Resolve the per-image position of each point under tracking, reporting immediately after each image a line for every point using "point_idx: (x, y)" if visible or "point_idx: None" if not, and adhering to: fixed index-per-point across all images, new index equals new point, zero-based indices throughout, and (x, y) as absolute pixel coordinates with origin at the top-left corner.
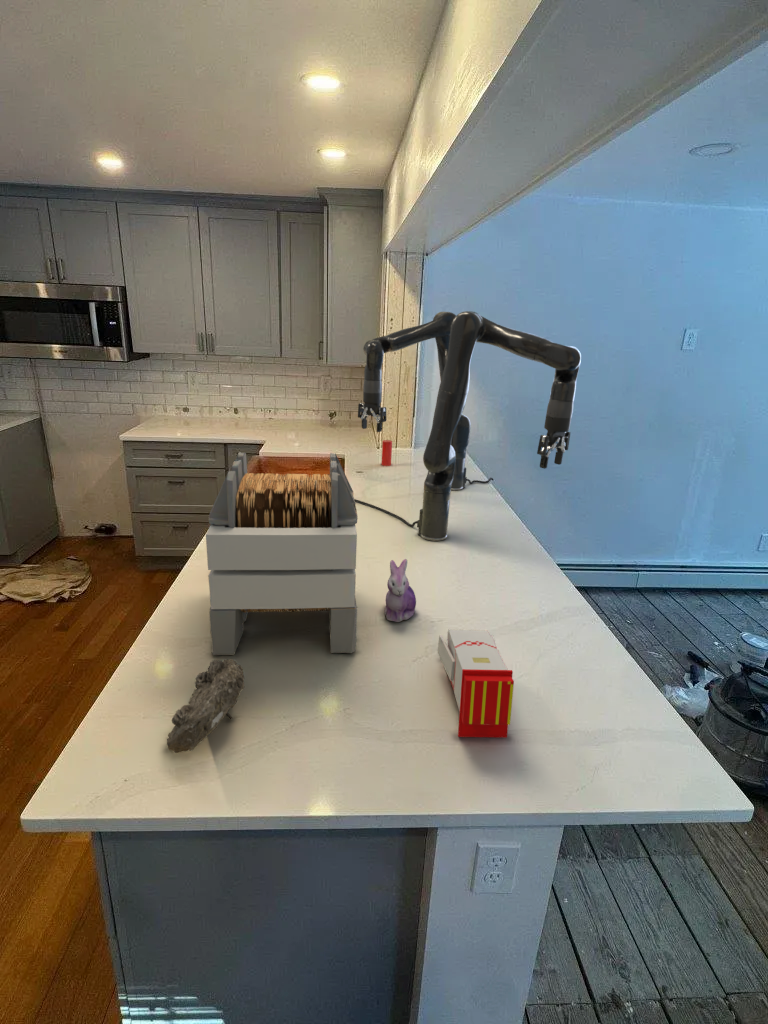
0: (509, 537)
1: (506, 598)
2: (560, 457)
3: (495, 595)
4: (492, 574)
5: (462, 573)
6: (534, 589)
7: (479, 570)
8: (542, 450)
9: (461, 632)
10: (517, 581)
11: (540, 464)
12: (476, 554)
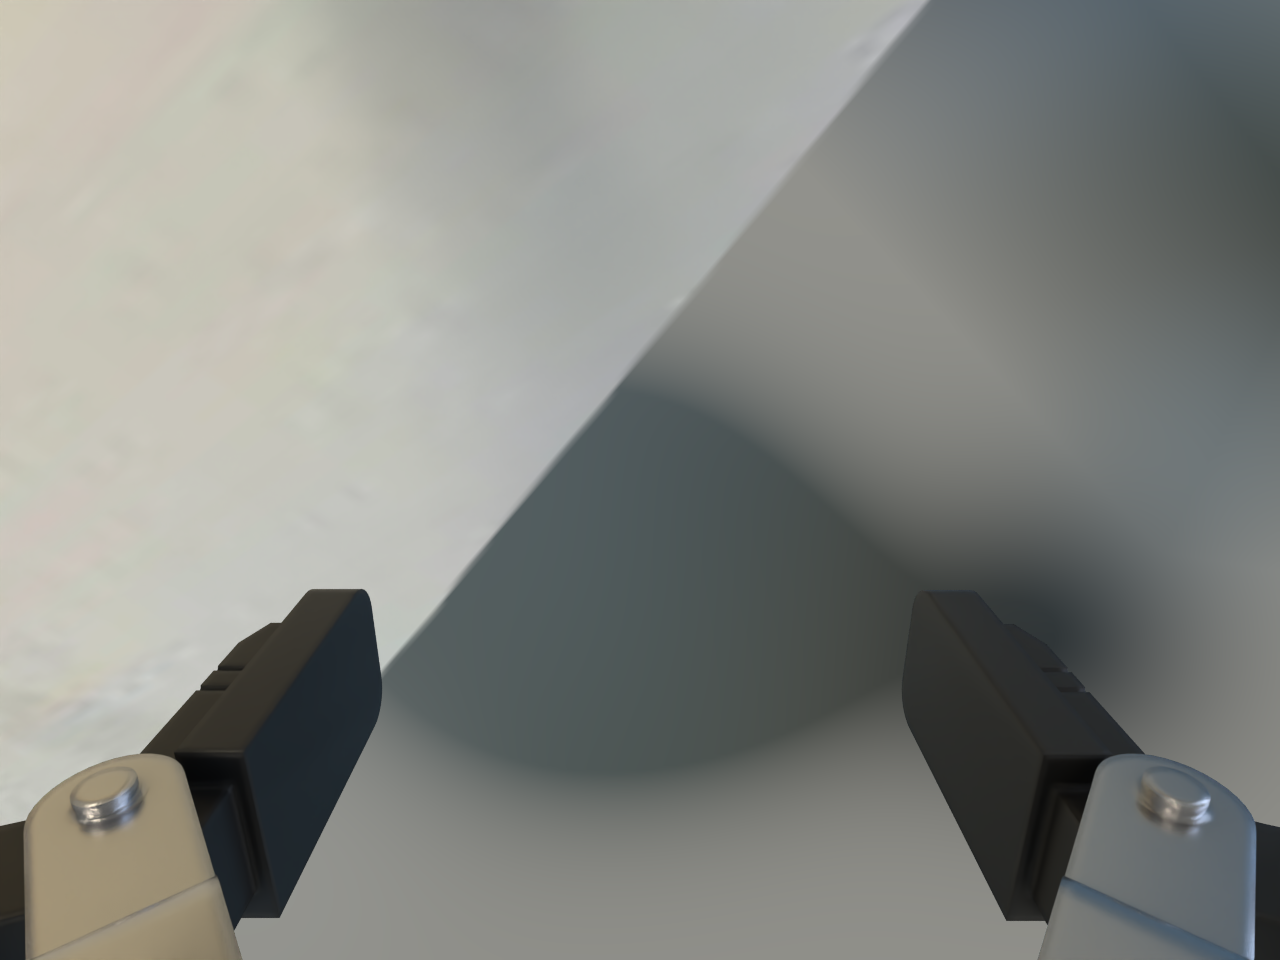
0: (751, 10)
1: (48, 536)
2: (961, 804)
3: (17, 486)
4: (171, 328)
5: (9, 201)
6: (247, 567)
7: (135, 243)
8: (39, 919)
9: None
10: (236, 467)
11: (238, 659)
12: (289, 59)
